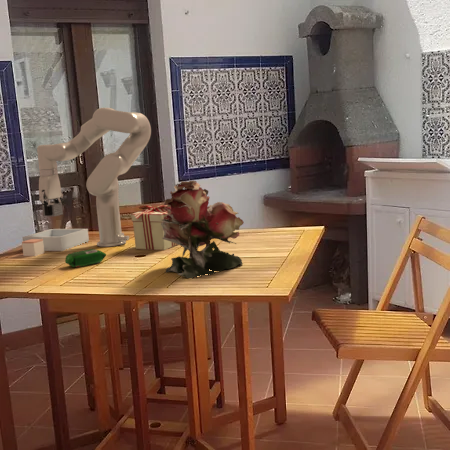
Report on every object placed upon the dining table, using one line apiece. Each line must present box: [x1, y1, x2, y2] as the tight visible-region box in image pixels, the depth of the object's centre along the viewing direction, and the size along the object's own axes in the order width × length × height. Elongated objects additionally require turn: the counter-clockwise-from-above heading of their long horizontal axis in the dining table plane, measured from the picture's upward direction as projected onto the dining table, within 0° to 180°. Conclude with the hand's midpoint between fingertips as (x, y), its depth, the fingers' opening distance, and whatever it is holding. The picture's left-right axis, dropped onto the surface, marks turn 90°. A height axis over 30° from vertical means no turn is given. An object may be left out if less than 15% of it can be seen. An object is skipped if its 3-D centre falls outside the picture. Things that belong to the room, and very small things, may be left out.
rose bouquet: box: [161, 180, 245, 279], centre depth 218 cm, size 26×29×30 cm
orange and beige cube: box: [21, 239, 45, 257], centre depth 266 cm, size 6×6×6 cm
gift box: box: [130, 204, 179, 251], centre depth 262 cm, size 17×18×17 cm
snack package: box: [64, 248, 107, 268], centre depth 238 cm, size 7×16×5 cm, turn 126°
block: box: [41, 202, 64, 217], centre depth 280 cm, size 6×6×5 cm
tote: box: [21, 228, 90, 252], centre depth 282 cm, size 20×20×6 cm
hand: (53, 213), depth 281 cm, fingers closed on block, 6 cm apart
